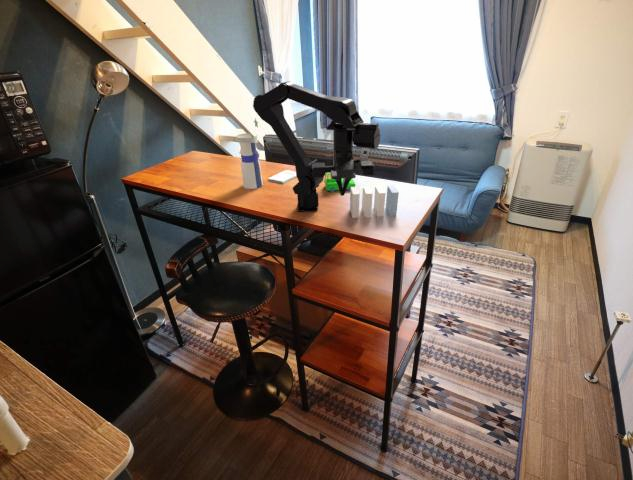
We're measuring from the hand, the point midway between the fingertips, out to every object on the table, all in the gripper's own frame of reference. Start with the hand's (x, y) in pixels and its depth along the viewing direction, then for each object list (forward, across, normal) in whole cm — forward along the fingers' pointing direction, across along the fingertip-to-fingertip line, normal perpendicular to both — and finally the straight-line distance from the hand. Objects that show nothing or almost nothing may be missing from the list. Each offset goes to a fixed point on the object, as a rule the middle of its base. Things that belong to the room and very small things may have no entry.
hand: (342, 195), depth 108 cm
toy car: (+7, +2, +23) cm, 24 cm away
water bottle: (+7, -32, +29) cm, 44 cm away
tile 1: (+7, +4, 0) cm, 8 cm away
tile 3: (+7, +12, 0) cm, 14 cm away
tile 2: (+7, +8, 0) cm, 10 cm away
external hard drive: (+7, -20, +36) cm, 42 cm away
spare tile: (+7, +16, 0) cm, 17 cm away
